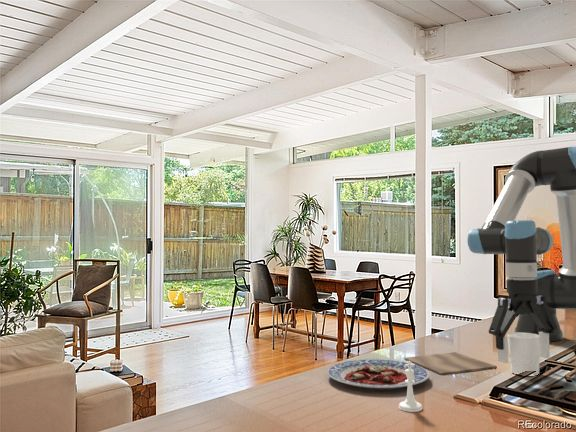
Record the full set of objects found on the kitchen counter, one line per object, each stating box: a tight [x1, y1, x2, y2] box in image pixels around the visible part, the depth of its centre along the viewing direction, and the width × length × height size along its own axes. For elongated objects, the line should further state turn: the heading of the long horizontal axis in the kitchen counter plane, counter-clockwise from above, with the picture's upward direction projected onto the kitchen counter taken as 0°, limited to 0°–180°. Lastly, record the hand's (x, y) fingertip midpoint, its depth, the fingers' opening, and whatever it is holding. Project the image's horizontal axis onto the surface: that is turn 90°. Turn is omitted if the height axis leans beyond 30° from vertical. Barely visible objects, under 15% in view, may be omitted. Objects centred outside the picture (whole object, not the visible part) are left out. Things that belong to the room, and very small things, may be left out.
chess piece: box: [398, 361, 423, 413], centre depth 111 cm, size 5×5×10 cm
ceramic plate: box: [327, 358, 430, 390], centre depth 133 cm, size 26×26×3 cm
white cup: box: [506, 331, 541, 376], centre depth 136 cm, size 8×8×10 cm
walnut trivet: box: [404, 351, 498, 376], centre depth 147 cm, size 18×18×1 cm
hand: (524, 359), depth 135 cm, fingers open, 13 cm apart
